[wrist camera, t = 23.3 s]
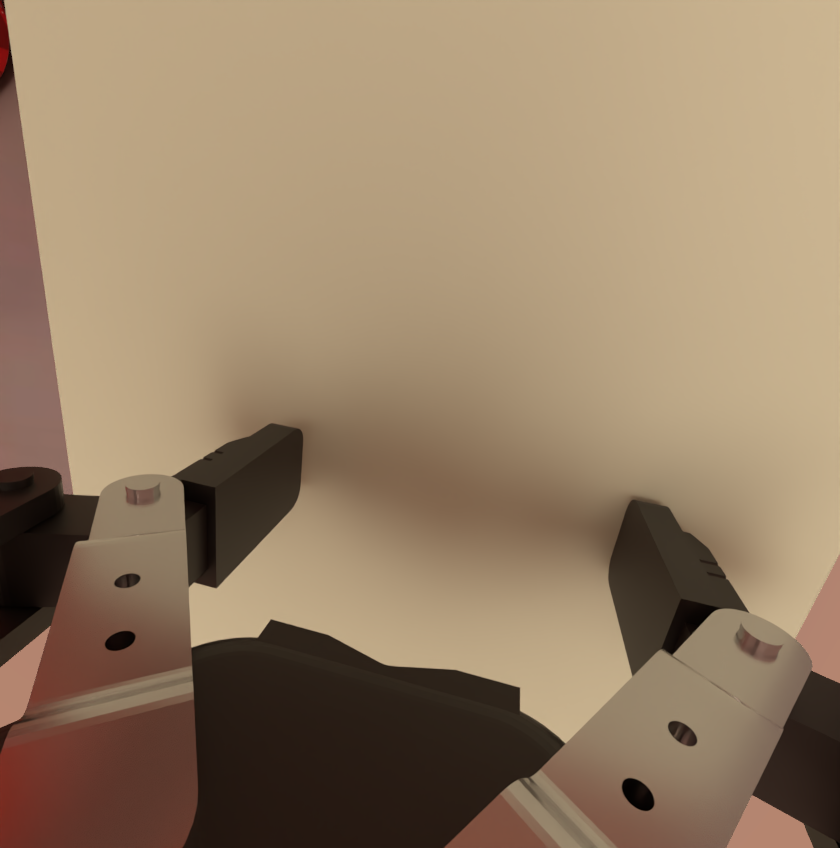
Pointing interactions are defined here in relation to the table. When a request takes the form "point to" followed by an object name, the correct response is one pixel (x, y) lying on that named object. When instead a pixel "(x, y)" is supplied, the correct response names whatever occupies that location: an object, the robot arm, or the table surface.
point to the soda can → (3, 39)
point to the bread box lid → (454, 300)
